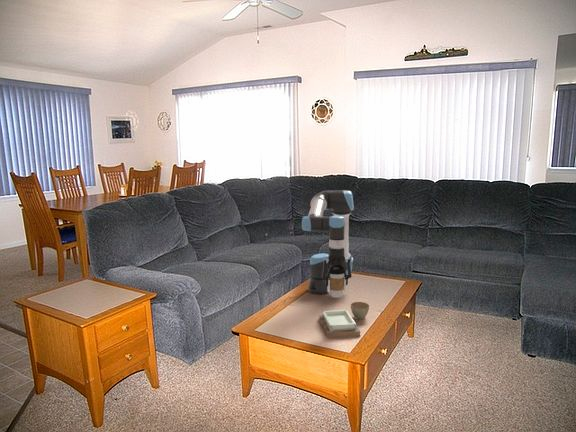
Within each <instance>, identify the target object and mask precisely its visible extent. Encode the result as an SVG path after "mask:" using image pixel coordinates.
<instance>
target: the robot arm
mask: <svg viewBox="0 0 576 432" xmlns="http://www.w3.org/2000/svg"><path fill="white" fill-rule="evenodd" d="M353 197H354V196H353V192H352V191H351V190H344V189H343V190H341V189H340V190H338V189H337V190H328V189H327V190H323V191H320V192H318V193H316V194H315V195H314V196H313V197H312V198H311V200H310V204H309V205H310V209H309V212H308V215H307V216H302V218H301V229H302V231H305V232H329V233H328V235H329V238H328V240H329V241H328V246H329V248H328V253H325V252H324V253H315V254H313V255H312V256H310V258H309V259H310V260H309V265H310V268H309V269H310V270H309V271H310V272H309V273H310V279H309V280H308V281H309V282H308V285H307V291H308V293H310V294H314V295H326V294H330V280H329V277H330V273H329V272H330V269H333V268H334V266H340V267H341V269H343V268H344V271H345V273H344V285H343V292H344V293H346V292H347V291H346V290H347V286H348V283H349V279H352V277H353V276H352V271H353V265H354V264H353V263H354V257H353V256H352V254H351V253H350V252H349V245H350V244H349V233H350V232H349V228H350V226H349V223H350V221H349V220H350V219H349V218H350V217H349V216H350V215H351V214H352V211H354V209H355V206H354V198H353ZM328 210H329V211H331V214H332V216H323V215H324V211H328ZM329 267H330V269H329Z"/></svg>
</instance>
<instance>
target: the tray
mask: <svg viewBox="0 0 576 432" xmlns="http://www.w3.org/2000/svg"><path fill="white" fill-rule="evenodd" d="M322 315H323V318H324V320H325V322H326V324H327V326H328V328H329V330H330V331H344V330H356V325H357V323H356V322H355V319H353V317H352V316H351V314H350V313H349V311H348V310H347V309H336V310H333V309H332V310H322Z"/></svg>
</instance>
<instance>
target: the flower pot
mask: <svg viewBox="0 0 576 432" xmlns="http://www.w3.org/2000/svg"><path fill="white" fill-rule="evenodd" d="M350 310H351V313H352V315H353V317H354V319H356V320H364V319H365V318H366V317H367V315H368V313H369V310H370V304H369V303H367V302H363V301H354V302H351V303H350Z"/></svg>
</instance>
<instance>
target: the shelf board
mask: <svg viewBox="0 0 576 432" xmlns="http://www.w3.org/2000/svg"><path fill="white" fill-rule="evenodd" d="M318 320H319V323H320V324H321V327H322V329H323V331H324V333H325V335H326V337H327V339H336V338H337V339H338V338H350V337H352V338H353V337H361V330H360V329H359V327H358V326H357V324H356V330H344V331H330V330H329V328H328V326H327V324H326V322H325V320H324V318H323V314H319V315H318Z"/></svg>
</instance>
